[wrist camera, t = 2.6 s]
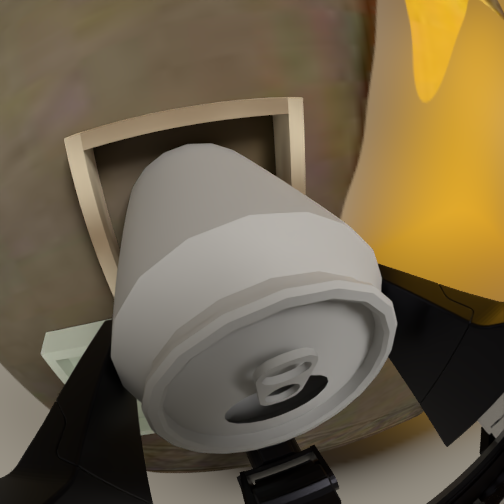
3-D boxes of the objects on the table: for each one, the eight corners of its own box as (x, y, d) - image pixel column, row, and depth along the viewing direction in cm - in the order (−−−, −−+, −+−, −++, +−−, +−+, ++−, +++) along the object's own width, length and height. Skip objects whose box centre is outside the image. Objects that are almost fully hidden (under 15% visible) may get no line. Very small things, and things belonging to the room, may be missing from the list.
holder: (290, 267, 20) (303, 284, 18) (129, 308, 17) (128, 330, 15) (285, 97, 14) (302, 97, 12) (75, 134, 11) (63, 138, 10)
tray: (240, 393, 26) (247, 410, 24) (116, 420, 22) (117, 438, 21) (219, 292, 19) (227, 312, 17) (46, 332, 16) (40, 354, 14)
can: (147, 280, 17) (177, 481, 7) (113, 158, 13) (26, 329, 3) (264, 251, 18) (381, 407, 9) (255, 130, 14) (456, 215, 5)
